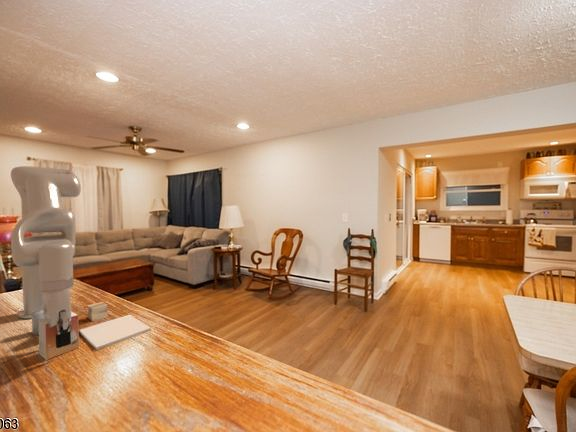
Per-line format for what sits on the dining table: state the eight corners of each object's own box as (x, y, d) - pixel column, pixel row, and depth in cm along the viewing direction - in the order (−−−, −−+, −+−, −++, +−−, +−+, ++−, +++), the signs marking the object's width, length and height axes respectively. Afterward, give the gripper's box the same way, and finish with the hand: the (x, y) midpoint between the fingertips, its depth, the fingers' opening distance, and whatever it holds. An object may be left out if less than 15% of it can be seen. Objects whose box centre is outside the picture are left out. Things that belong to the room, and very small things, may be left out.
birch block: (88, 318, 101) (87, 305, 101) (103, 313, 105) (102, 301, 105) (92, 321, 98) (91, 308, 98) (107, 317, 102) (107, 304, 102)
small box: (45, 361, 74) (44, 324, 73) (38, 355, 76) (37, 319, 76) (79, 347, 80) (78, 314, 80) (72, 342, 83) (71, 310, 83)
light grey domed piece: (31, 332, 90) (30, 312, 90) (48, 327, 94) (47, 308, 93) (33, 336, 87) (32, 315, 87) (51, 331, 91) (50, 311, 91)
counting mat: (79, 332, 90) (79, 329, 90) (129, 316, 103) (129, 314, 103) (96, 350, 79) (96, 347, 79) (150, 330, 92) (150, 327, 92)
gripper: (34, 282, 80) (36, 336, 81) (46, 294, 69) (49, 356, 70) (65, 276, 86) (67, 327, 87) (81, 286, 75) (83, 344, 76)
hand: (59, 340), depth 78 cm, fingers open, 9 cm apart
